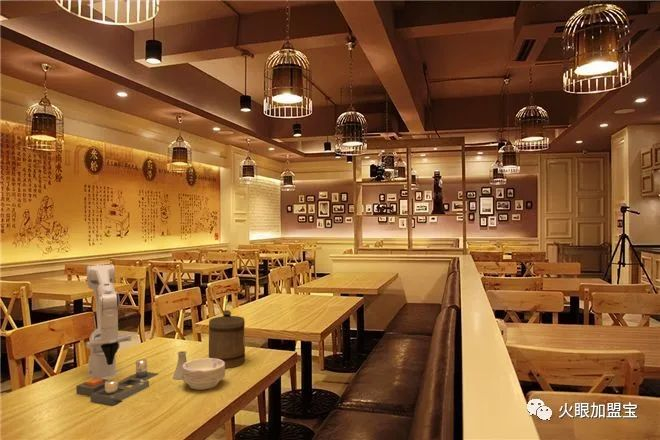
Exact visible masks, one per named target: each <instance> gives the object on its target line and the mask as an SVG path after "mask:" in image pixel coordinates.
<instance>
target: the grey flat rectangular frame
mask: <svg viewBox="0 0 660 440" xmlns="http://www.w3.org/2000/svg"><path fill="white" fill-rule="evenodd" d="M125 378H126V379H124V378H123V379H121V380H118V393H117V394H115V395H113V396H107V395H105V388H103V389H101V390H99V391H96V392H94V393H92V394H91V397H90V402H92V403H97V404H103V405H107V406H111V407H112V406H116V405H118V404H120V403H121V402H123V400H124V399H125V400H126V399H127V398H129V397H131V396H133V395H135V394H137V393H138V392H141V391H144V390H146V389H147V388H149V387H150V380H139V379H133V378H127V377H125ZM128 386H129V387H128Z"/></svg>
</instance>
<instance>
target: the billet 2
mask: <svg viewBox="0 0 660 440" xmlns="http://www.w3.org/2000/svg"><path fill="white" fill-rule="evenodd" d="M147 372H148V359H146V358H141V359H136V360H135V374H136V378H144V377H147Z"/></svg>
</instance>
